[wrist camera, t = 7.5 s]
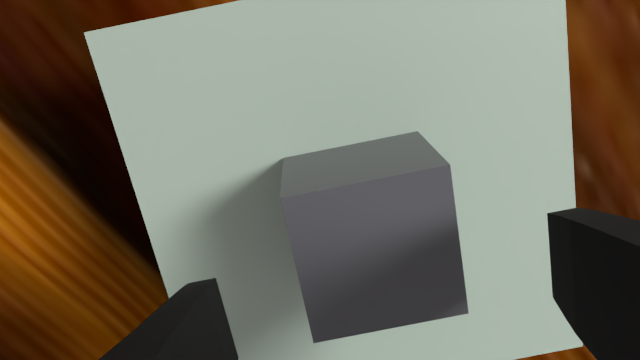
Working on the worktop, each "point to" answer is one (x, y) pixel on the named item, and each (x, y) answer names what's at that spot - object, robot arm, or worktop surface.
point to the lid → (354, 170)
